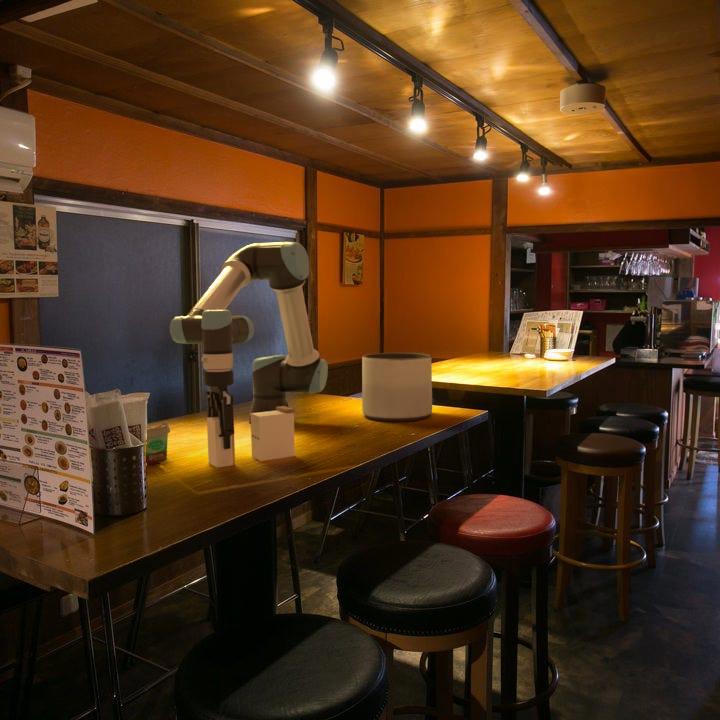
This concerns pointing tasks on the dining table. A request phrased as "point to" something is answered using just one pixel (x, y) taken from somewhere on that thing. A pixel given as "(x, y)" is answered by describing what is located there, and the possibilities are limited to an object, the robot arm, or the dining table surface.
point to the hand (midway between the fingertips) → (221, 458)
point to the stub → (217, 444)
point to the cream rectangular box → (273, 434)
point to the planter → (396, 386)
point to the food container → (157, 444)
